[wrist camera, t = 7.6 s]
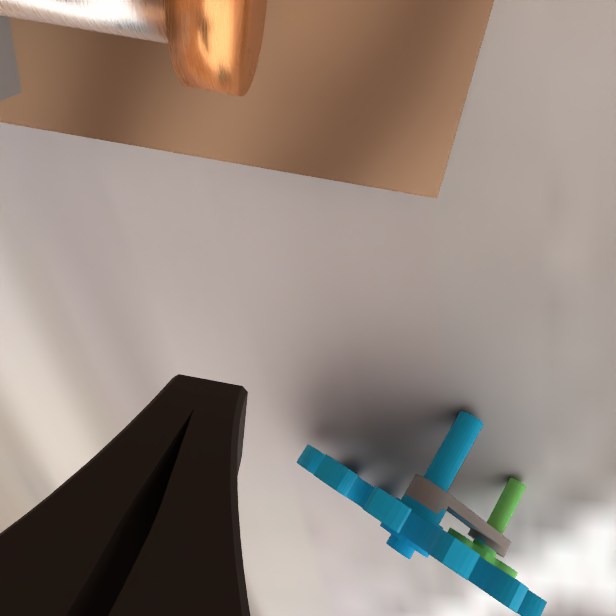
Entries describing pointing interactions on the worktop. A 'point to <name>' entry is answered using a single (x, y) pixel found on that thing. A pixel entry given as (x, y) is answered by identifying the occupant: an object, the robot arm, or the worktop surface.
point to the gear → (440, 517)
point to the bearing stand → (269, 90)
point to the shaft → (171, 32)
